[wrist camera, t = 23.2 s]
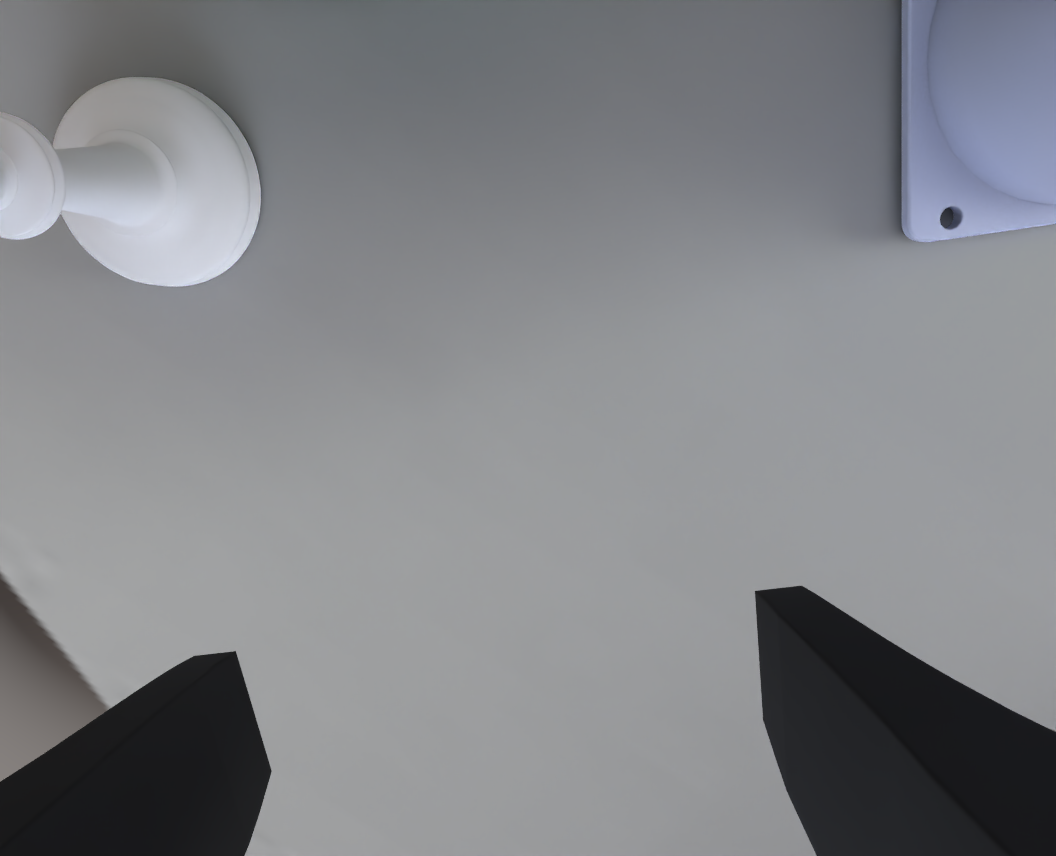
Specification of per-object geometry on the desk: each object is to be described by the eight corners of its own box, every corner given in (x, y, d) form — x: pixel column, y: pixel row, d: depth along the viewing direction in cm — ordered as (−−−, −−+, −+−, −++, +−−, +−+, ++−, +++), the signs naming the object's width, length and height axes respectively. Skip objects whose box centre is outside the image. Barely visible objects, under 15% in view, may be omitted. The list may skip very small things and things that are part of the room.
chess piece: (27, 194, 18) (-540, 180, 9) (133, 30, 17) (-386, -192, 8) (189, 325, 19) (-164, 442, 10) (301, 177, 18) (24, 143, 8)
